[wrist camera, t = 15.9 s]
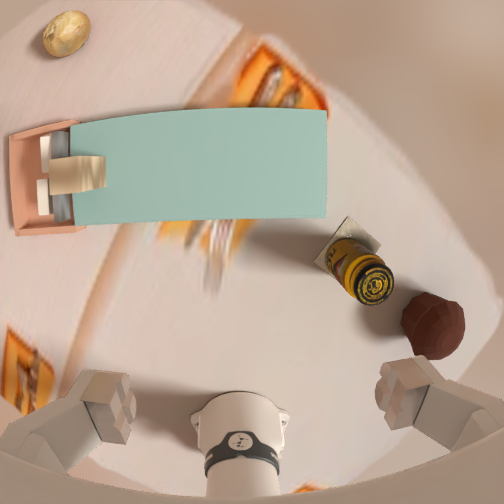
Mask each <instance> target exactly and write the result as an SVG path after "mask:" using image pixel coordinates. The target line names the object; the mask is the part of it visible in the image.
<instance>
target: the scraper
mask: <svg viewBox="0 0 504 504" xmlns="http://www.w3.org/2000/svg"><path fill="white" fill-rule="evenodd" d="M68 134H69V132H63V131H54V132H52V140H51V160H49V188H50V195H52V197H53V212H54V223H59V222H63V221H65V220H68V219H70V218H71V215H70V201H69V193H79V192H84V191H89V190H93V189H98V188H103V187H106V157H105V156H73V157H68Z"/></svg>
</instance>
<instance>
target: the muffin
mask: <svg viewBox="0 0 504 504" xmlns="http://www.w3.org/2000/svg"><path fill="white" fill-rule="evenodd" d="M401 326H402V328H403V329H404V331H405V334H406V336H407V338H408V339H409V341H410V343H411V346H412V349H413V352H414V355H415V356H419V355H422V356H425V357H426V359H427V360H440V359H443V358H445V357H447V356H449V355H450V354H451V353H453V352H454V351H455V350H456V349H457V348H458V346H459V344H460V343H461V341H462V339H463V336H464V332H465V319H464V312H463V308H462V307H461V306H460V305H459V304H458V303H457V302H454V301H448V300H445V299H443V298H441V297H439V296H436V295H431V294H429V293H426V292H425V293H423V294H421V295H419V296H416V297H414V298H412V300H411V301H410V303H409V304H408V305H407V307H406V308H405V309H404V310H403V316H402V320H401Z"/></svg>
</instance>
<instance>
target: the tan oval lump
mask: <svg viewBox="0 0 504 504" xmlns="http://www.w3.org/2000/svg"><path fill="white" fill-rule="evenodd" d="M89 33H90V20H89V18H88V16H87V15H86V14H84V13H82V12H80V11H67V12H64V13H62V14H60V15H58V16H56V17H55V18H54V19H53V20H52V21H51V22H50V23H49V24H48V26H47V27H46V29H45V31H44V32H43V45H44V47H45V49H46V50H47V52H48V53H49V54H51V55H53V56H56V57H65V56H68V55H71V54H73V53H74V52H76V51H77V50H78V49H79V48H80V47H82V46H83V45H84V42H85V41H86V40H87V39H88V36H89Z"/></svg>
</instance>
